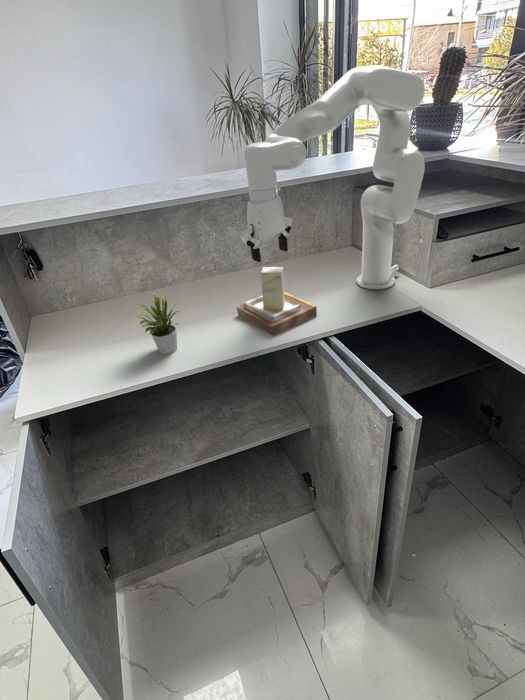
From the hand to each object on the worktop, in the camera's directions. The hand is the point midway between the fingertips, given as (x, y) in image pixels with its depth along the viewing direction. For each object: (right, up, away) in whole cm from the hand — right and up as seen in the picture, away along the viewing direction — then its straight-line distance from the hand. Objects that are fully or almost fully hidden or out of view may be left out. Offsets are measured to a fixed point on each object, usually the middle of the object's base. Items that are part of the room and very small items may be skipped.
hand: (270, 255), depth 125 cm
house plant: (-30, -27, 0) cm, 40 cm away
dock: (+2, -16, +11) cm, 20 cm away
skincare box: (+2, -14, +9) cm, 17 cm away
